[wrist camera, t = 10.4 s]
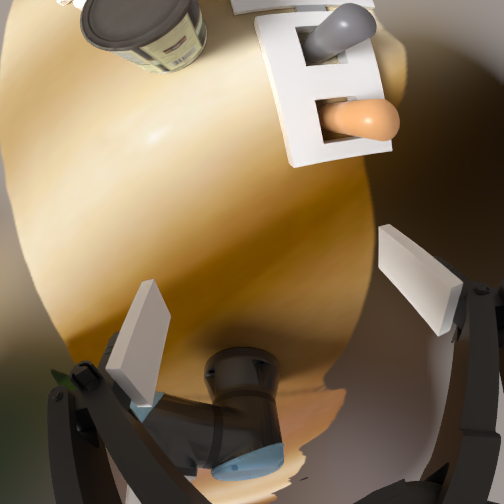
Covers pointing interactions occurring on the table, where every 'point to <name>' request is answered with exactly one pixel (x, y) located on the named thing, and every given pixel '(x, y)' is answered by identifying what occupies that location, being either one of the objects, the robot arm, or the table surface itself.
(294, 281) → the table surface
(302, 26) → the housing
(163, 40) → the coffee can
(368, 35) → the ball
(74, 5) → the joystick
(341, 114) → the jaw pin orange
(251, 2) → the lid
